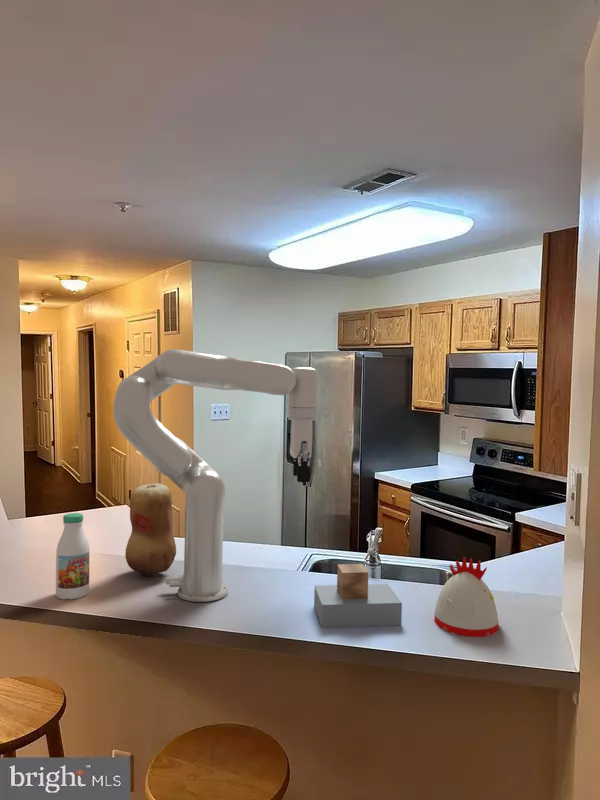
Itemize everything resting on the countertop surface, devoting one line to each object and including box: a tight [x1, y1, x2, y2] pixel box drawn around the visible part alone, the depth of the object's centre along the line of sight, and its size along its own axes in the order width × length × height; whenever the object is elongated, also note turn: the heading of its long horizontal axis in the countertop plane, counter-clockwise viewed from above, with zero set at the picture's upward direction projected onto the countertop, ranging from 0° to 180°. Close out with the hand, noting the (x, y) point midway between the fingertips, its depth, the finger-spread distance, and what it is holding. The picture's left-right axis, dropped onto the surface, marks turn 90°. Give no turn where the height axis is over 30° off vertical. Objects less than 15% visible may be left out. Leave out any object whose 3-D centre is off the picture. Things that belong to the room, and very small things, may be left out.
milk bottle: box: [55, 512, 90, 600], centre depth 140 cm, size 8×8×20 cm
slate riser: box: [313, 583, 403, 628], centre depth 132 cm, size 18×12×5 cm, turn 96°
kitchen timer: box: [433, 556, 499, 638], centre depth 128 cm, size 14×14×15 cm
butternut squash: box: [124, 483, 177, 577], centre depth 156 cm, size 14×13×25 cm
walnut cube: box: [336, 563, 369, 599], centre depth 131 cm, size 6×6×6 cm
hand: (301, 478), depth 150 cm, fingers open, 9 cm apart
